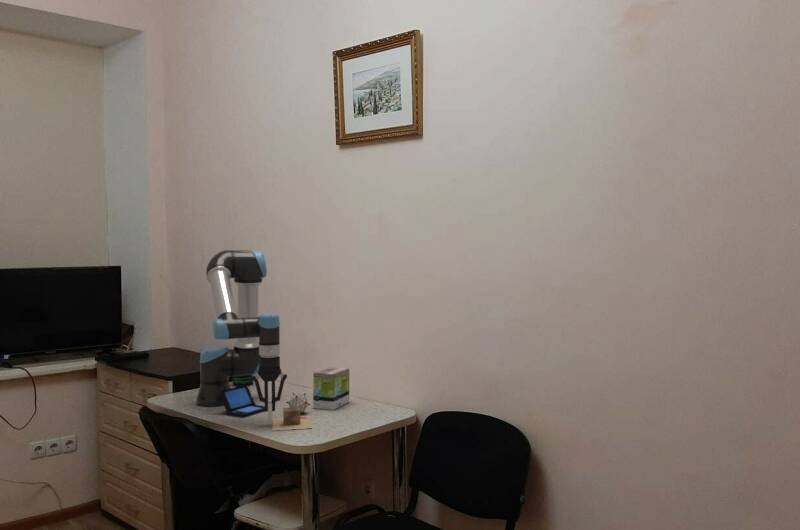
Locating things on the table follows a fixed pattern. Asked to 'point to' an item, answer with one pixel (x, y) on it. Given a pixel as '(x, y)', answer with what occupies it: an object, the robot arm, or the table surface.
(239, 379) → the storage jar
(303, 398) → the grey spiky ornament
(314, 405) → the tea box
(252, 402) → the handheld game console
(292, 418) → the walnut block
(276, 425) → the envelope
